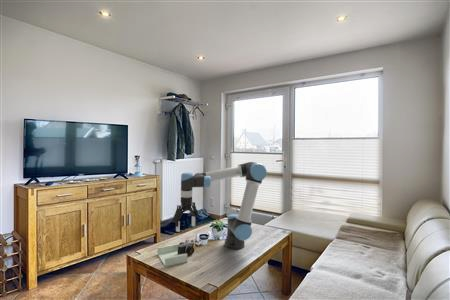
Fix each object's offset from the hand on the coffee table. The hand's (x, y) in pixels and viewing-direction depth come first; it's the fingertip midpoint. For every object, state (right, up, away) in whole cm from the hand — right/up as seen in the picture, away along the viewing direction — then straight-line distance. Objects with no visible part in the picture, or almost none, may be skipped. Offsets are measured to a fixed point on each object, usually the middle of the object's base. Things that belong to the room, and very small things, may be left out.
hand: (185, 228), depth 158 cm
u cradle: (-9, -19, -1) cm, 21 cm away
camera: (0, -19, +7) cm, 20 cm away
